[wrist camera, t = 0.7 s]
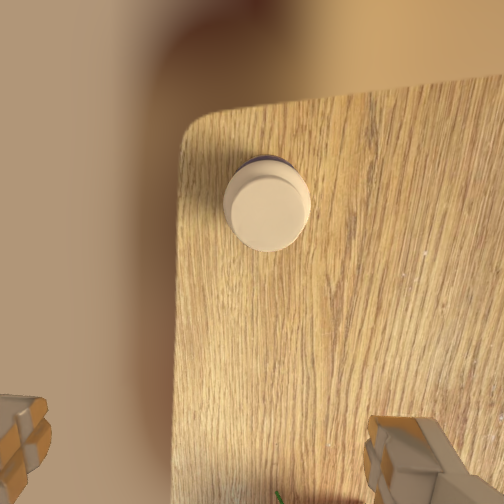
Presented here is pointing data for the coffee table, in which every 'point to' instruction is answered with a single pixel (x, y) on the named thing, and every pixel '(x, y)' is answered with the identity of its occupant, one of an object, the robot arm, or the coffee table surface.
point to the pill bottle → (267, 203)
